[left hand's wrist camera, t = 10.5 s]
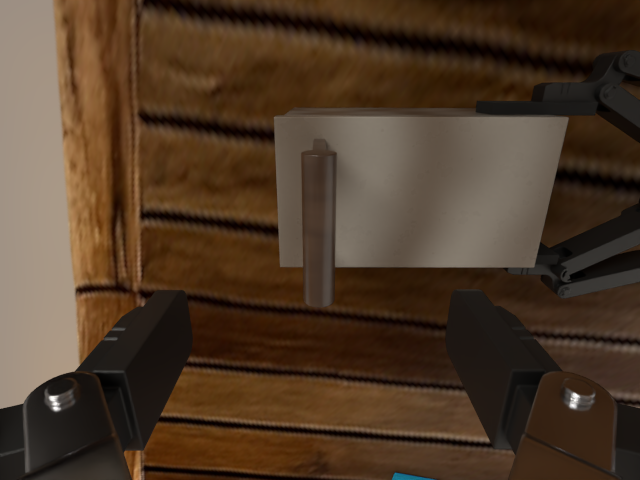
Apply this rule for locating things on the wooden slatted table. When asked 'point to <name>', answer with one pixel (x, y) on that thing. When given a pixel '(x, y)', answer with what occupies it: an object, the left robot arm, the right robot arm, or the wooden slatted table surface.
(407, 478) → the model building
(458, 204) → the lid
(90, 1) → the wooden slatted table surface
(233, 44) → the wooden slatted table surface
